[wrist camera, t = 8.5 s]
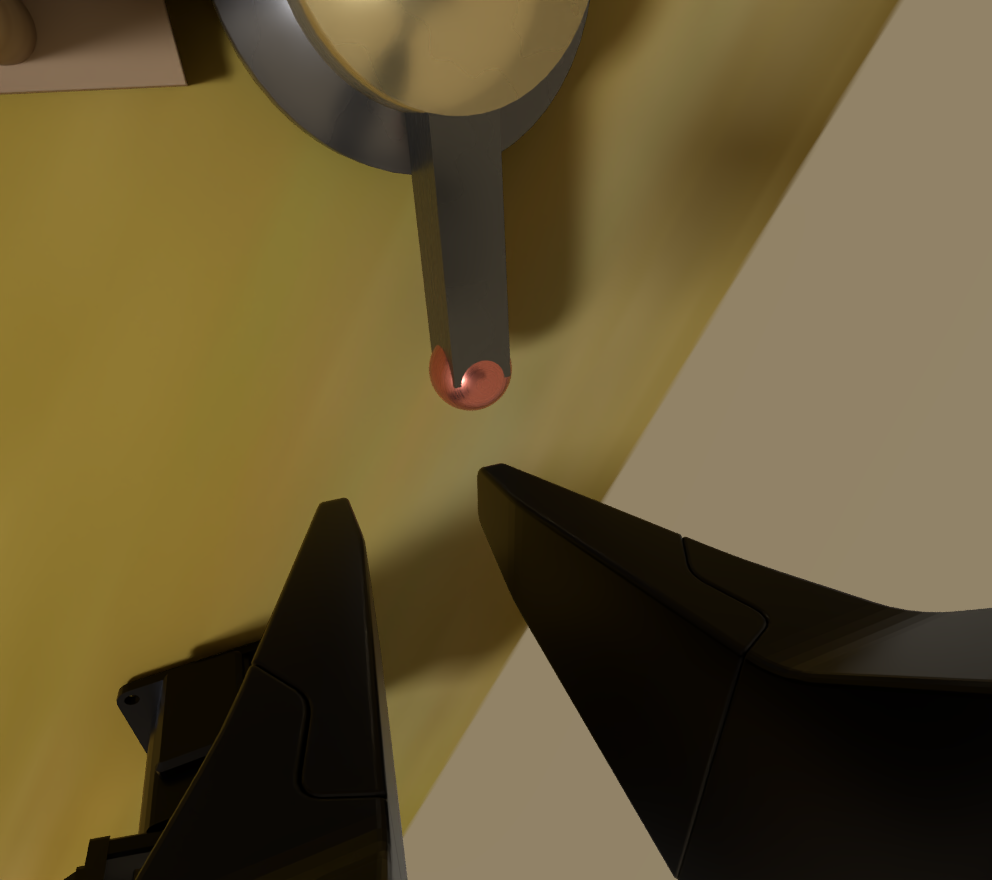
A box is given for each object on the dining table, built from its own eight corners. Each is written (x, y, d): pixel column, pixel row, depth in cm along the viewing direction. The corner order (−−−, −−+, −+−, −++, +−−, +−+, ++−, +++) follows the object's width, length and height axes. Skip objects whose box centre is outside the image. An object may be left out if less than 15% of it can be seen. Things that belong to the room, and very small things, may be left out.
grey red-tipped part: (225, -287, 11) (225, -378, 9) (549, -243, 13) (609, -308, 11) (359, 413, 19) (376, 449, 17) (551, 370, 21) (587, 398, 19)
